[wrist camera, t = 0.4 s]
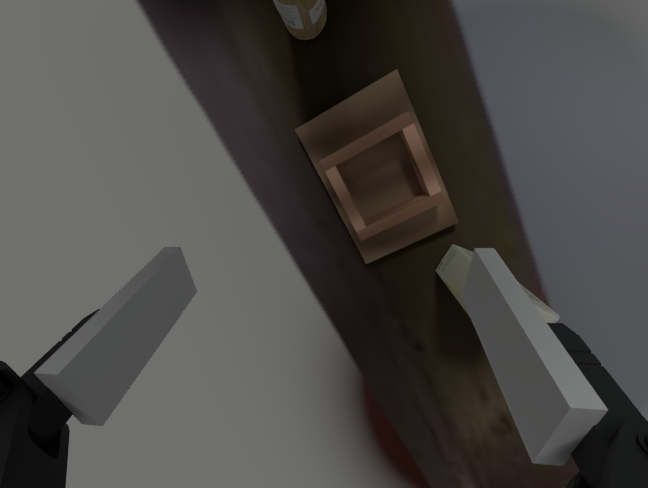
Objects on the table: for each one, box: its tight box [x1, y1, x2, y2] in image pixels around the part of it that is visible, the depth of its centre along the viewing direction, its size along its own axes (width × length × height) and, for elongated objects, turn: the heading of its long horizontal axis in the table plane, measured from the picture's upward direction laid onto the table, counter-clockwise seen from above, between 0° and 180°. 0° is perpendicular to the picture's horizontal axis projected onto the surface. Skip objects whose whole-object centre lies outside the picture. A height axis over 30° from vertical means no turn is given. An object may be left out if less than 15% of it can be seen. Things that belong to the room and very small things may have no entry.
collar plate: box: [295, 69, 459, 264], centre depth 33 cm, size 18×12×4 cm, turn 28°
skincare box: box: [436, 244, 559, 323], centre depth 32 cm, size 6×4×12 cm
